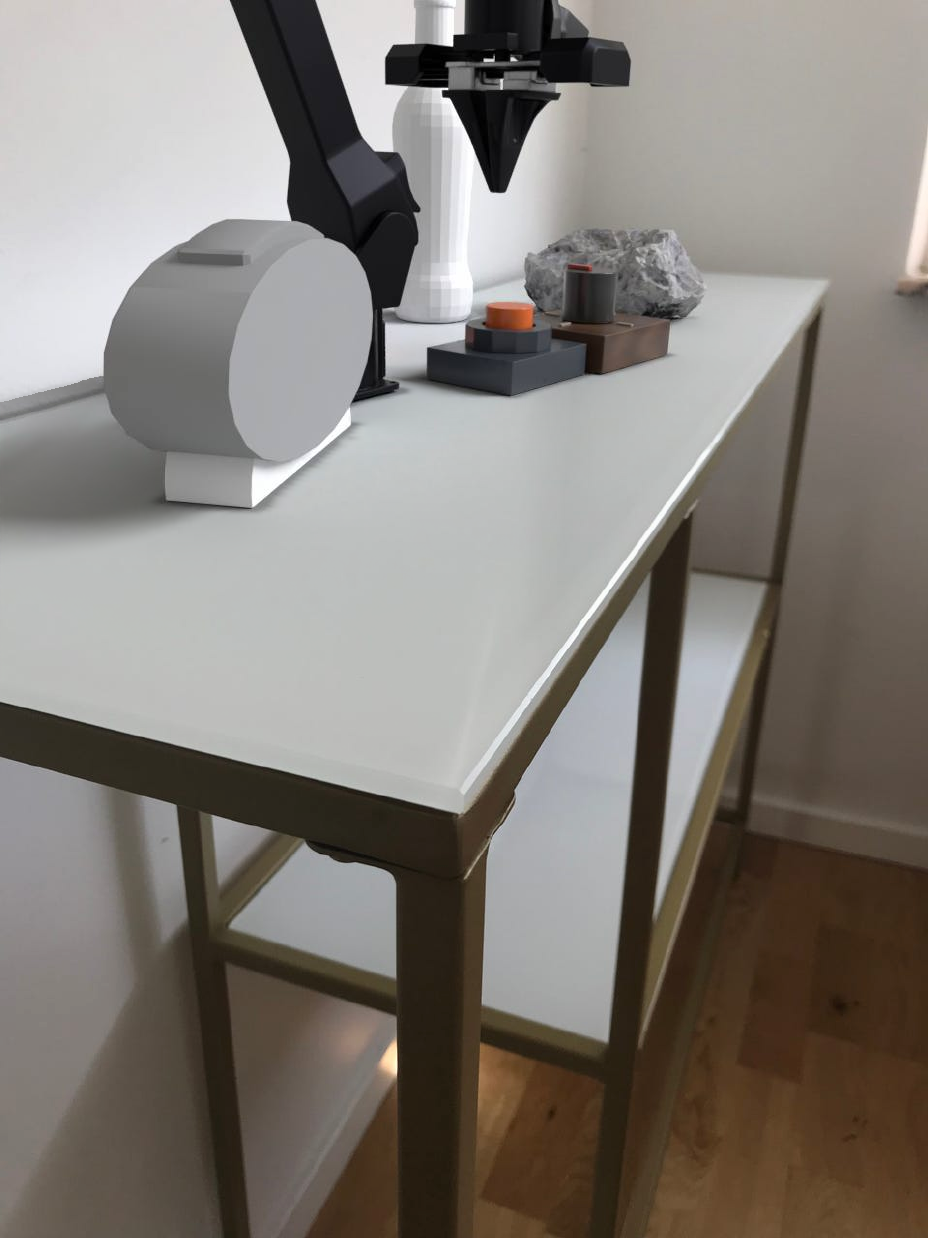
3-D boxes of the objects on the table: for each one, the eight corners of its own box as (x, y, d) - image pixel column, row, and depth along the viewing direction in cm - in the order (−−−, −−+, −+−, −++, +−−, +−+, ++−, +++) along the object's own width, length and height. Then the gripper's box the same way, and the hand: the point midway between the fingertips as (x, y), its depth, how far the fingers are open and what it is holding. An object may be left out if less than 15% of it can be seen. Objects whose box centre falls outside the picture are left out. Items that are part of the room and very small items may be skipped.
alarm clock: (287, 407, 70) (275, 205, 64) (374, 413, 69) (371, 208, 63) (117, 520, 49) (80, 236, 44) (239, 531, 48) (216, 242, 43)
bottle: (486, 316, 106) (496, -25, 93) (444, 327, 100) (448, -37, 87) (422, 308, 110) (422, -20, 97) (376, 318, 104) (371, -32, 91)
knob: (623, 319, 87) (627, 266, 86) (596, 325, 84) (601, 270, 82) (579, 313, 90) (582, 261, 88) (551, 319, 87) (554, 265, 85)
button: (514, 334, 76) (515, 310, 76) (475, 328, 78) (476, 305, 78) (541, 328, 79) (542, 305, 78) (503, 323, 81) (504, 300, 80)
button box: (511, 395, 74) (513, 339, 73) (426, 379, 79) (426, 325, 77) (584, 374, 82) (588, 322, 80) (503, 360, 86) (504, 310, 84)
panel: (602, 374, 82) (605, 333, 80) (500, 356, 87) (501, 318, 86) (667, 354, 90) (671, 317, 88) (570, 339, 95) (572, 304, 94)
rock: (717, 299, 111) (719, 202, 106) (693, 350, 100) (694, 246, 95) (555, 299, 118) (548, 208, 112) (516, 347, 107) (507, 249, 101)
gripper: (678, -41, 73) (656, 196, 80) (471, -24, 83) (466, 184, 90) (596, -65, 65) (579, 200, 72) (378, -43, 75) (381, 187, 82)
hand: (498, 192), depth 79 cm, fingers closed
